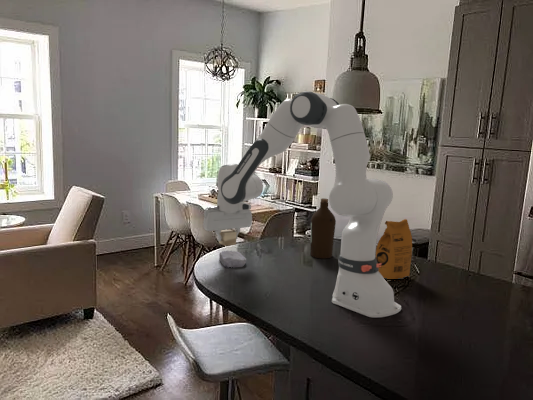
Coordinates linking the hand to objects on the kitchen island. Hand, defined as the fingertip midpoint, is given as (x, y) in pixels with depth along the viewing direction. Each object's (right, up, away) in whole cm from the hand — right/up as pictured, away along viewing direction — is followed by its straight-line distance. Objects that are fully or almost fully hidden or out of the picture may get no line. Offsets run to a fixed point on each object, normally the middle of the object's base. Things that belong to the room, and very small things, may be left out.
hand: (227, 239), depth 173 cm
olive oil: (+39, -9, +18) cm, 44 cm away
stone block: (+2, -10, +3) cm, 11 cm away
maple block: (0, -2, 0) cm, 2 cm away
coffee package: (+63, -14, -7) cm, 65 cm away
